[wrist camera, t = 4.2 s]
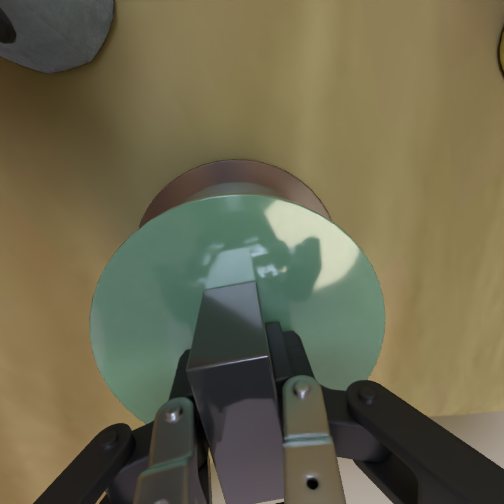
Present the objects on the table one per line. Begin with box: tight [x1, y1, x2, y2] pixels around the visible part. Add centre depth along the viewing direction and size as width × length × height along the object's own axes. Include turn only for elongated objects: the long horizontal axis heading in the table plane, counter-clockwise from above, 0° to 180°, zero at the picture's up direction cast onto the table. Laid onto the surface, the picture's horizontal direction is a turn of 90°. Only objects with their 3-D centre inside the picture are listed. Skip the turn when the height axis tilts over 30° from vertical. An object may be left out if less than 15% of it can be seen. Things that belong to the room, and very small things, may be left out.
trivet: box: [139, 159, 332, 228], centre depth 23 cm, size 16×16×1 cm
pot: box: [90, 182, 385, 504], centre depth 17 cm, size 19×14×15 cm
